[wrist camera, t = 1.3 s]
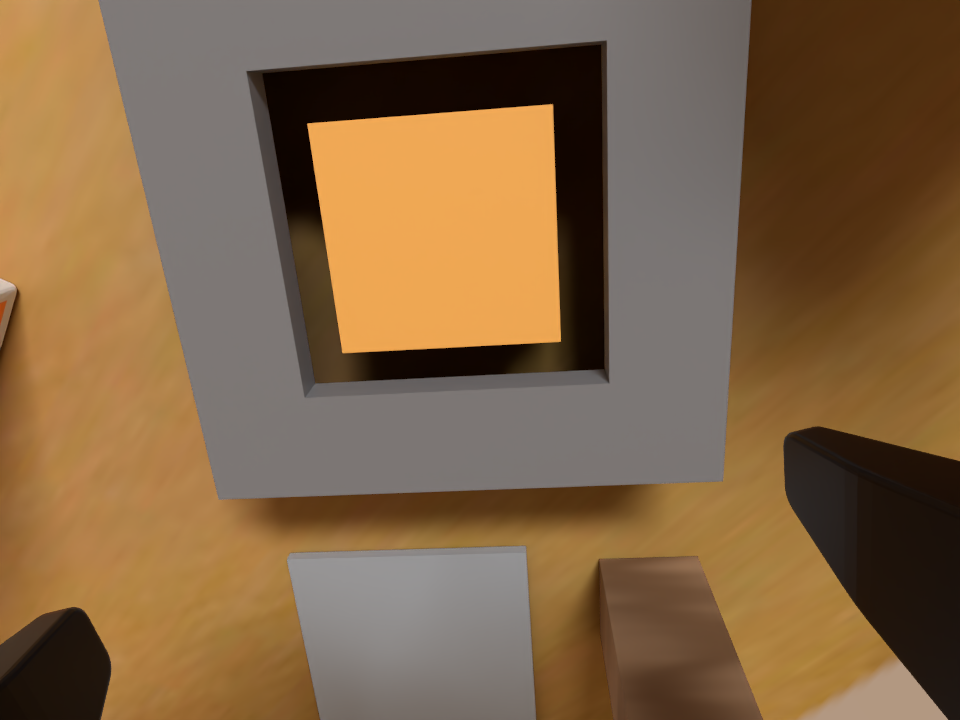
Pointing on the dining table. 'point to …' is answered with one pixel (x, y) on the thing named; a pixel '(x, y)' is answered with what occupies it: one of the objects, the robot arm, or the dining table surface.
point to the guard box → (465, 399)
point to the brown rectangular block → (668, 644)
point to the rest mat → (417, 633)
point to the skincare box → (6, 305)
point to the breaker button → (441, 228)
